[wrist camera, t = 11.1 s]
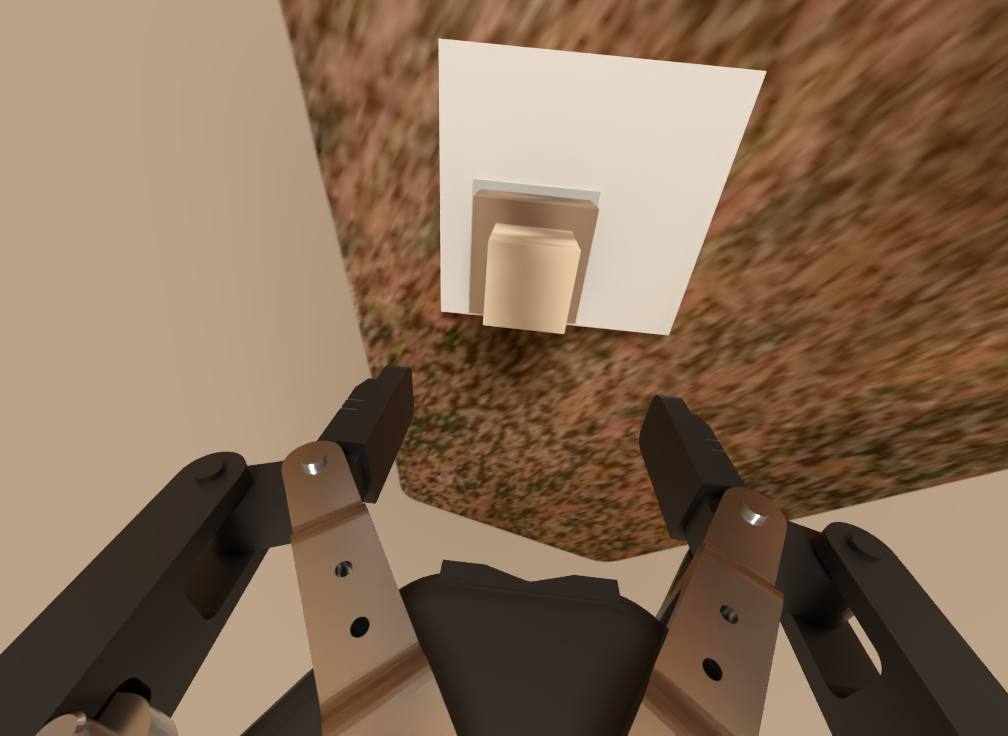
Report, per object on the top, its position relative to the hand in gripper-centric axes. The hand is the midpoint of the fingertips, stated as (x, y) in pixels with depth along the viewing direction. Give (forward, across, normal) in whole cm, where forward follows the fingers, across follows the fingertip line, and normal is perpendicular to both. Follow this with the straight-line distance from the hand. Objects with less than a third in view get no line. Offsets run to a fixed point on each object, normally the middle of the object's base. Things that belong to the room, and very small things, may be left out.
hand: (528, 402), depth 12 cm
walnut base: (+19, 0, 0) cm, 19 cm away
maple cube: (+15, 0, 0) cm, 15 cm away
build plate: (+20, -3, -3) cm, 21 cm away
